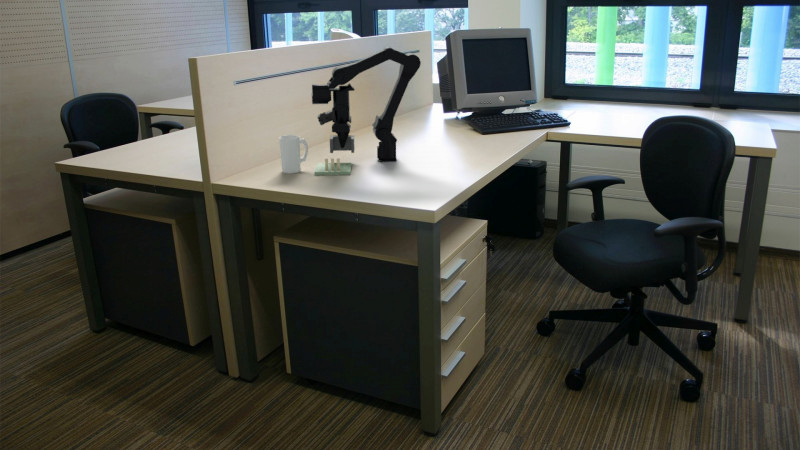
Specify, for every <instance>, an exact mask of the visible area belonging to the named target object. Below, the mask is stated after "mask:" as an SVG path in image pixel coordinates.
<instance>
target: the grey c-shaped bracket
mask: <svg viewBox="0 0 800 450" xmlns="http://www.w3.org/2000/svg"><path fill="white" fill-rule="evenodd" d="M355 145H356V144H355V135H354V134H352V135H351V134H350V135H348V138H347V141H346V143H345V146H344V148H341V146H340V142H339V138H338V135H335V134H334V135H332V134H331V135H330V137H329V153H330V154H333V153H334V151H339V152H341V151H344V152H346V151H351V154H354V153H355V150H356V148H355Z"/></svg>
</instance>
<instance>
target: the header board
mask: <svg viewBox="0 0 800 450" xmlns="http://www.w3.org/2000/svg"><path fill="white" fill-rule="evenodd" d="M351 172H352V162H341V161H340V158H337V159H336V162H335V159H334V158H330V162H329V159H328V158H324V162H317V163H316V166H315V169H314V176H329V175H331V176H338V175H340V176H344V175H345V176H348V175H351Z"/></svg>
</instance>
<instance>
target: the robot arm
mask: <svg viewBox="0 0 800 450" xmlns="http://www.w3.org/2000/svg"><path fill="white" fill-rule="evenodd" d="M390 60H391V62H394V63H397V64H399V70H398V71H399V72H398V77H397V79H396V81H395V84H394V87H393V89H392V91H391V94H390V96H389V98H388V100H387V103H386V104H385V108H384V111H383V112H382V113H381V115H380V116H379V115H376V116H375V119H374V122H373V123H372V133H373V134H374V136H375V138H376V139H377V140H379V141H378V145H377V146H376V148H377V150H376V153H377V155H376V156H377V157H376V158H377V159H378V162H397V141H398V139H397V137H396V136H395V135H394V134H393V133H392V131H393V128H394V127H393V125H394V119H395V116H396V113H397V111H398V109H399V106H400V104H401V101H402V100H403V96H404V95H405V92H406V90H407V88H408V85H409V83H410V81H411V80H412V79H413V78H414V76H415V75H416V73H417V72H418V70H419V69H420V67H421V63H422V62H421V60H420V58H419V56H417V55H416V54H415V53H412V52H407V53H403V52H401V51H399V50H397V49H393V48H392V47H390V46H387V47H384V48H383V49H381V50H379V51H376V52H374V53H372V54H370V55H368V56H366V57H364V58H362V59H359V60H357V61H355V62H351V63H346V64H342V65H339V66H335V67H334V68H333V70H332V71H331V77H330V79H328V81H327V83H326V84H316V83H315V84H314V83H313V84H311V103H312V105H328V104H329V103H330V102H331V101H332V102H333V103H332V108H331V110H328V111H326V112H324V111H323V112H322V113H319V114H318V115H317V120H318V123H319V125H320V126H324V125H325V124H327V123H330V122H332V125H331V133H335V134H337V135H338V138H339V142H340V146H341V148H344V146H345V143H346V141H347V138H348V135H349V134H350V132H351V128H352V127H351V124H352V116H351V113H350V111H351V108H350V107H351V105H350V92H353V91H355V90H356V89H355V88H354V86H352V84H351V83H349V82H350V81H352V80H353V79H354V78H355V77H356V76H358V75H360V74H361V73H363V72H365V71H367V70H370V69H373V68H374V67H376V66H379V65H380V64H383V63H385V62H387V61H390ZM347 83H348V84H347ZM346 84H347V85H346Z"/></svg>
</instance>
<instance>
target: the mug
mask: <svg viewBox="0 0 800 450" xmlns="http://www.w3.org/2000/svg"><path fill="white" fill-rule="evenodd" d="M301 144H302V145H303V146H304V153H303V155H302V157H301ZM279 148H280V150H279V151H280V162H281V169H282V170H281V171H282V173H283V174H287V175H289V174H291V175H292V174H297V173H300V172H301V169H302V168H301V164H302V162H306V160H307V156H308V154H309V146H308V143H307V141H306V139H305V138H304V137H303V138H300V135H297V134H285V135H284V134H283V135H281V136H279Z"/></svg>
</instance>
